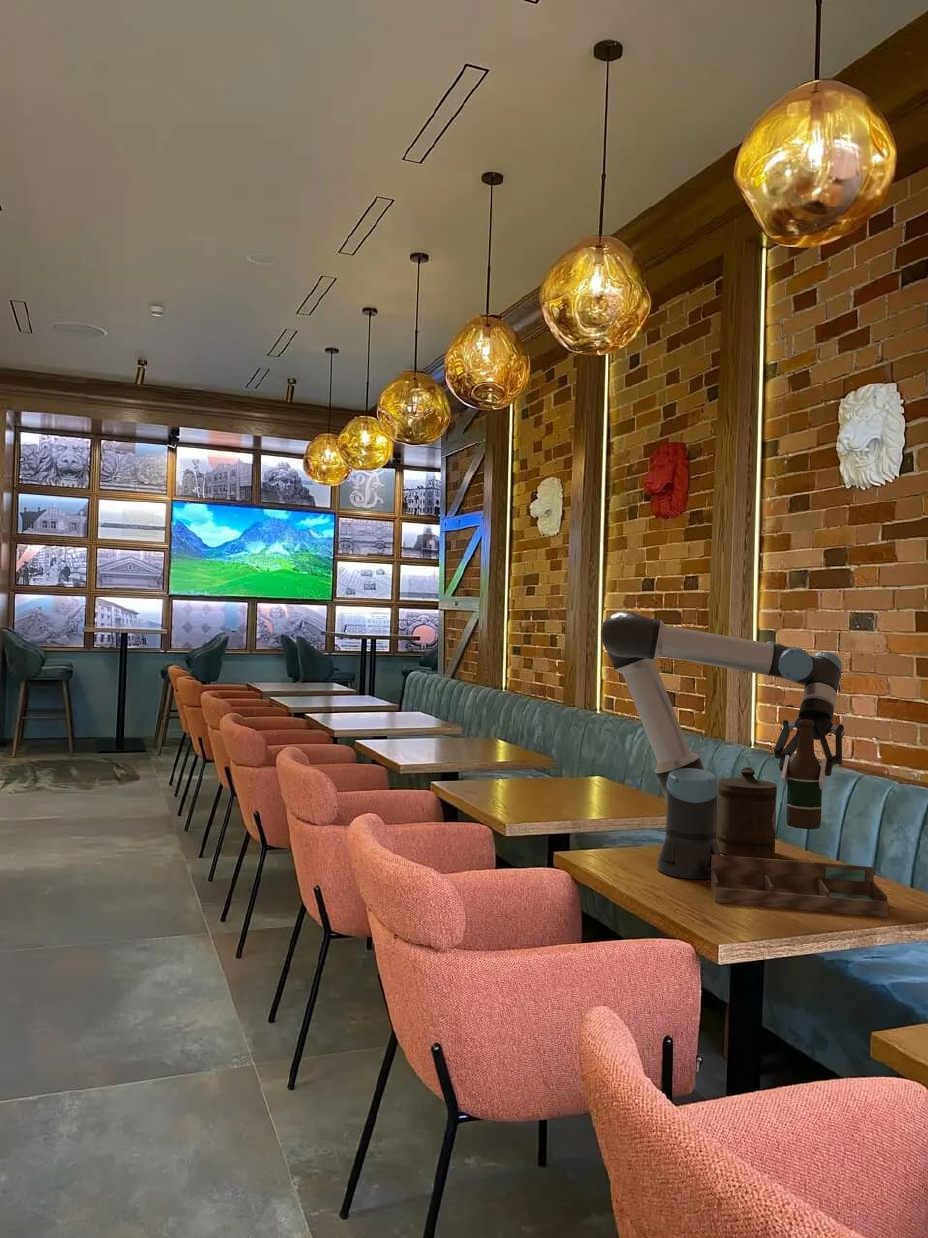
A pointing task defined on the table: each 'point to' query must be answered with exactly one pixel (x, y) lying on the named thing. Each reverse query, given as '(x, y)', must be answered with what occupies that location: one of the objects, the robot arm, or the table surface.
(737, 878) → the condiment rack
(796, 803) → the beer bottle
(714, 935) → the table surface
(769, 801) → the wooden container
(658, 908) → the table surface
